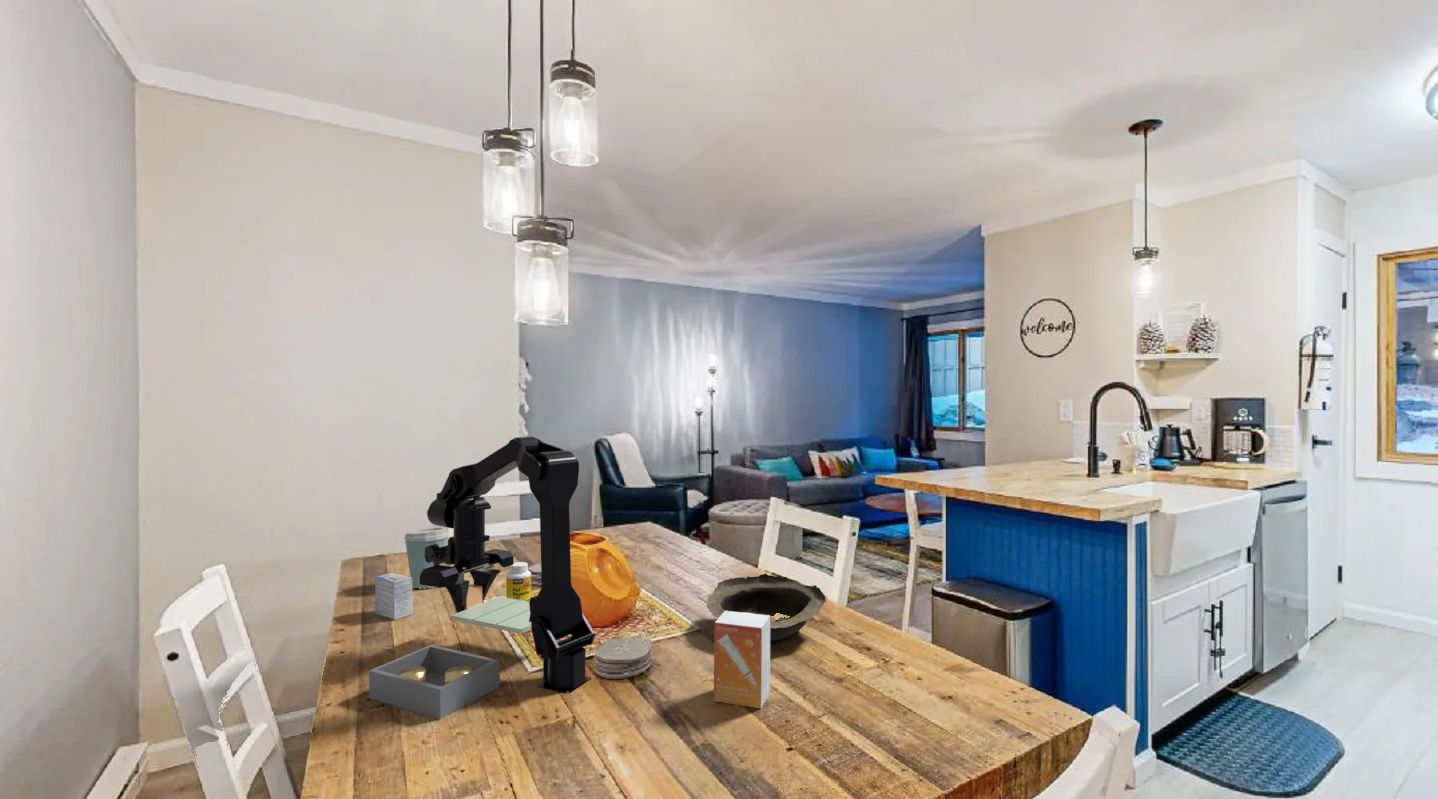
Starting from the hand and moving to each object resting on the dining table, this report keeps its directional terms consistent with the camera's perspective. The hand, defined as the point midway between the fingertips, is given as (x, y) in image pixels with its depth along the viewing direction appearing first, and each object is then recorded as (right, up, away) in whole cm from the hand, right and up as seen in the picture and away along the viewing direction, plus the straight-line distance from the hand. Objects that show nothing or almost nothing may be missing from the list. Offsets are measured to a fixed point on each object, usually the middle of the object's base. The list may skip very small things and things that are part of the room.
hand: (469, 610), depth 124 cm
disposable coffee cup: (-28, -8, +42) cm, 50 cm away
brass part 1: (-1, -7, -20) cm, 21 cm away
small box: (+53, -8, -20) cm, 57 cm away
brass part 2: (+6, -7, -20) cm, 22 cm away
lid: (+8, -2, -4) cm, 9 cm away
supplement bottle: (+2, -8, +25) cm, 26 cm away
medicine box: (-25, -8, +19) cm, 32 cm away
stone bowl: (+59, -8, +9) cm, 60 cm away
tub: (+2, -7, -20) cm, 21 cm away
